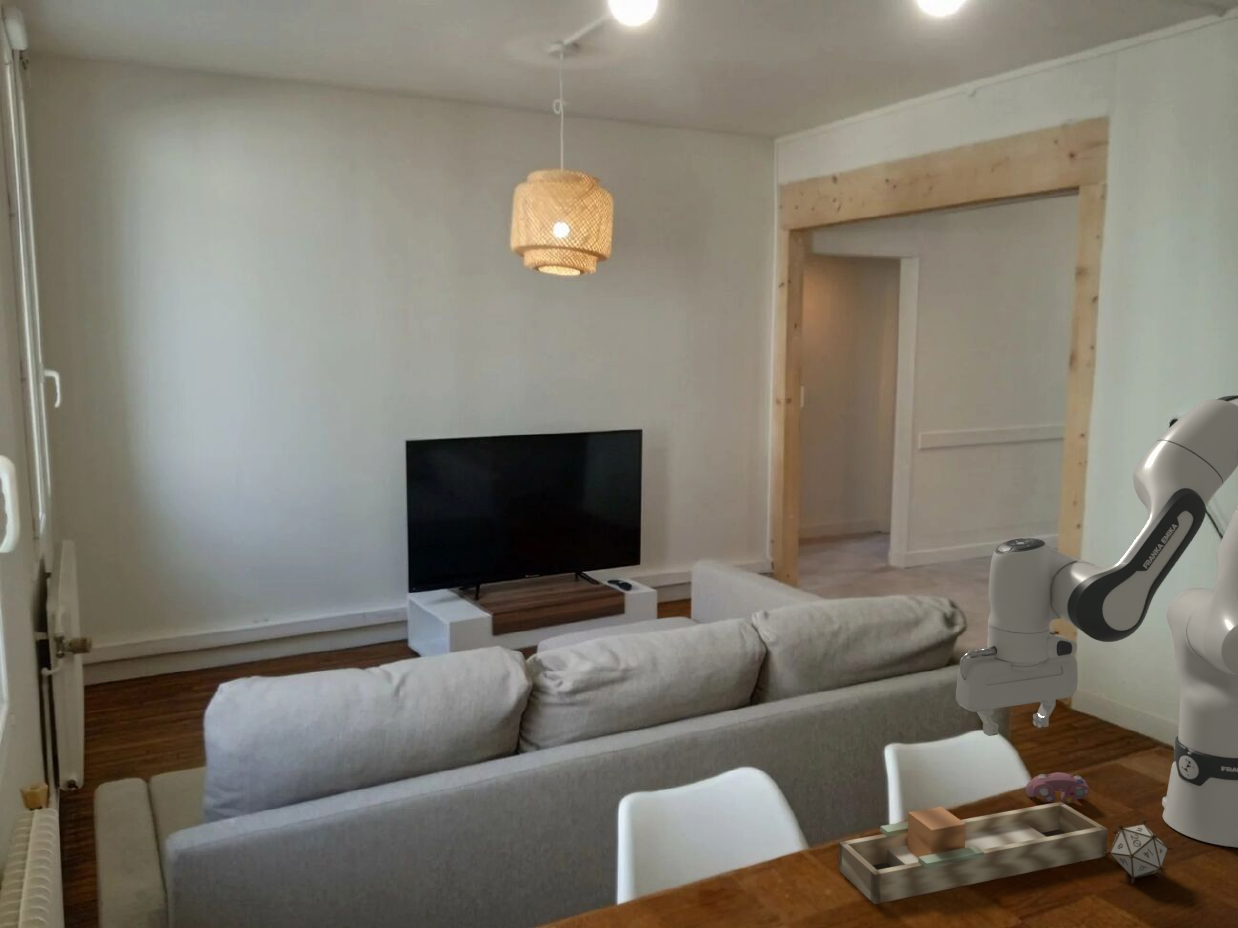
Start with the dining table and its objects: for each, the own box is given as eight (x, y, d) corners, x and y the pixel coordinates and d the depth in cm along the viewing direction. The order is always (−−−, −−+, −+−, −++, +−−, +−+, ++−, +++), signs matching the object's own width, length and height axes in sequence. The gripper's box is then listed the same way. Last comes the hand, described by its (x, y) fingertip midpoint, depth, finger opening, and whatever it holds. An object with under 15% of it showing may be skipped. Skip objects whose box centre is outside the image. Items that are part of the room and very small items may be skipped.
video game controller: (1029, 810, 172) (1035, 784, 168) (1022, 789, 176) (1029, 763, 172) (1087, 813, 171) (1095, 786, 167) (1079, 791, 174) (1087, 765, 171)
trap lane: (1055, 824, 163) (1056, 794, 163) (1111, 859, 152) (1112, 826, 151) (834, 866, 150) (835, 833, 150) (878, 907, 139) (878, 872, 138)
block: (940, 842, 152) (941, 806, 152) (964, 861, 147) (965, 823, 146) (907, 848, 151) (908, 812, 150) (930, 868, 145) (931, 829, 144)
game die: (1150, 903, 146) (1188, 873, 139) (1094, 879, 147) (1129, 848, 141) (1147, 852, 153) (1183, 821, 146) (1093, 829, 154) (1126, 797, 147)
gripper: (974, 657, 143) (972, 746, 145) (1086, 642, 150) (1083, 728, 151) (947, 645, 149) (946, 731, 151) (1056, 631, 156) (1053, 714, 157)
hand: (1015, 730), depth 151 cm, fingers open, 8 cm apart
